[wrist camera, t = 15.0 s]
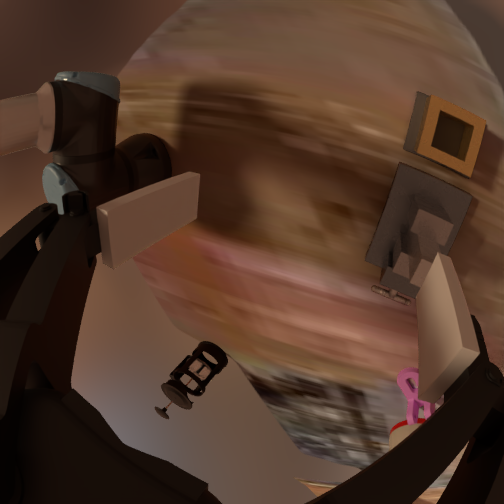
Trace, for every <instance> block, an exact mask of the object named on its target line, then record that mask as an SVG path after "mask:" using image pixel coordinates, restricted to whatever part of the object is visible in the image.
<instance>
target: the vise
mask: <svg viewBox="0 0 504 504" xmlns="http://www.w3.org/2000/svg"><path fill="white" fill-rule="evenodd" d="M472 197H473V196H472V195H471V194H469V193H468V192H466V191H464V190H462V189H460V188H458V187H456V186H454V185H452V184H450V183H448V182H445V181H443V180H441V179H439V178H437V177H435V176H432V175H430V174H428V173H426V172H423V171H421V170H419V169H416V168H414V167H412V166H409V165H407V164H404V163H402V162H399V164H398V167H397V171H396V174H395V177H394V180H393V183H392V186H391V189H390V192H389V195H388V198H387V201H386V204H385V207H384V209H383V212H382V215H381V218H380V220H379V223H378V226H377V228H376V231H375V234H374V236H373V239H372V241H371V244H370V246H369V249H368V251H367V254H366V257H365V261H367V262H369V263H372V264H374V265H376V266H379V267H381V268H382V269H381V277H380V284H381V285H384V286H386V287H388V288H390V290H389V291H388V290H385V289H383V288H380V287H378V286H376V285H373V286H372V287H371V290H372V291H373V292H375V293H378V294H380V295H382V296H385V297H387V298H390V299H392V300H394V301H397V302H399V303H402V304H404V305H406V306H409V305H410V304H411V301H410V300H409V299H407V298H404V297H402V296H400V295H397V293H398V292H400V293H403V294H405V295H407V296H410V297H412V298H414V299H416V295H417V294H418V292H419V290H420V288H421V286H422V284H423V282H424V280H425V278H426V276H427V274H428V272H429V270H430V268H431V266H432V264H433V262H434V260H435V257H436V255H437V253H438V252H439V253H441V254H443V255H446V256H447V255H448V253H449V251H450V249H451V246H452V244H453V242H454V240H455V238H456V236H457V233H458V231H459V229H460V227H461V224H462V222H463V219H464V217H465V215H466V212H467V210H468V207H469V205H470V202H471V199H472Z"/></svg>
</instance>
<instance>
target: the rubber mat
mask: <svg viewBox="0 0 504 504" xmlns="http://www.w3.org/2000/svg"><path fill="white" fill-rule="evenodd" d="M428 97H429V96H428V95H426V94H423V93H421V92H417V96H416V100H415V104H414V109H413V113H412V117H411V121H410V125H409V129H408V133H407V136H406V140H405V144H404V147H403V149H404V150H407V151H409V152H412V153H414V154H417V155H419V156H421V157H424V158H426V159H428V160H431V161H433V162H435V163H437V164H439V165H442V166H444V167H446V168H448V169H450V170H452V171H454V172H456V173H458V174H460V175H462V176H464V177H466V178H468V179H469V178H470V177H469V176H467V175H465V174H463V173H461V172H459V171H457V170H455V169H452V168H450V167H448V166H446V165H444V164H442V163H440V162H438V161H435V160H433V159H431V158H429V157H426V156H424V155H422V154H419V153H417V152H416V151H415V150H414V147H415V143H416V139H417V136H418V132H419V128H420V124H421V120H422V116H423V112H424V108H425V103H426V99H427V98H428ZM464 127H465V126H464V125H462V124H460V123H458V122H455V121H453V120H451V119H449V118H447V117H445V116H442V115H440V114H439V117H438V121H437V125H436V129H435V133H434V136H433V140H432V144H431V146H432V147H434V148H436V149H438V150H441V151H443V152H445V153H447V154H449V155H451V156H453V157H457V153H458V150H459V146H460V143H461V139H462V135H463V131H464Z"/></svg>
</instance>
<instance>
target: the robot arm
mask: <svg viewBox="0 0 504 504" xmlns="http://www.w3.org/2000/svg"><path fill="white" fill-rule="evenodd" d="M119 93H120V81H119V80H118V78H116V77H115V76H112V75H108V74H102V73H93V72H60V73H58V74H57V76H56V77H55V81H54V82H46V83H45V84H44V85H43V86H42V87H41V88H40V89H39V90H38V91H37V92H36V93H34V94H28V95H22V96H18V97H13V98H8V99H4V100H0V156H2V155H5V154H9V153H12V152H16V151H19V150H23V149H27V148H31V147H37V148H39V149H40V150H41V151H43V152H44V153H49V152H53V163H49V164H48V165H47V166H46V167H45V168H44V171H43V179H42V180H43V187H44V191H45V195H46V198H47V200H48V203H44V204H42V205H40V206H38V207H37V208H35V209H34V210H33V211H31V212H30V213H29V214H28V215H26V216H25V217H24V218H23V219H21V220H20V221H19V222H18V223H17V224H16V225H14V226H13V227H12V228H11V229H10V230H8V231H7V232H6V233H5V234H4V235H3V236H2V237H0V504H222V503H221V502H220V501H219V500H218V499H217V498H216V497H215V496H214V495H213V494H212V493H210V492H209V491H208V483H206V482H204V481H202V480H200V479H198V478H196V477H195V476H193V475H191V474H189V473H187V472H185V471H184V470H182V469H180V468H178V467H177V466H175V465H173V464H172V463H170V462H168V461H166V460H162V459H160V458H157V457H154V456H152V455H149V454H146V453H144V452H141V451H139V450H136V449H134V448H132V447H129V446H127V445H125V444H124V443H122V441H121V440H120V439H119V438H118V436H117V435H116V434H115V433H114V431H113V430H112V429H111V427H110V426H109V425H108V424H107V422H106V421H105V419H104V418H103V417H102V415H101V414H100V412H99V411H98V410H97V409H96V408H94V407H93V406H92V405H91V404H90V403H88V402H87V401H86V400H85V399H84V398H83V397H82V396H81V395H80V394H79V393H78V392H77V391H76V390H74V389H72V387H71V376H72V369H73V362H74V356H75V351H76V345H77V340H78V335H79V330H80V325H81V320H82V316H83V312H84V307H85V303H86V299H87V295H88V291H89V288H90V284H91V280H92V277H93V273H94V270H95V266H96V263H97V259H96V255H97V254H98V253H100V252H101V253H102V259H103V264H105V265H107V266H109V267H110V268H112V269H115V268H117V267H118V266H120V265H121V264H123V263H124V262H126V261H128V260H129V259H131V258H132V257H134V256H135V255H137V254H139V253H140V252H142V251H143V250H145V249H147V248H148V247H150V246H151V245H153V244H155V243H156V242H158V241H160V240H161V239H163V238H165V237H166V236H168V235H170V234H171V233H173V232H175V231H176V230H178V229H180V228H181V227H183V226H185V225H186V224H188V223H190V222H191V221H193V220H195V219H197V209H198V196H199V184H200V174H198V173H194V172H190V171H189V172H186V173H183V174H180V175H177V176H174V177H171V163H170V158H169V155H168V152H167V150H166V148H165V146H164V145H163V143H162V142H161V141H160V140H159V139H158V138H157V137H155V136H154V135H151V134H148V133H142V134H136V135H133V136H130V137H129V138H127V139H125V140H124V141H122V142H121V143H119V144H118V145H116V146H115V143H116V128H117V117H118V107H119V103H120V99H119ZM37 237H39V242H40V245H41V249H40V250H39V251H38V250H37V247H36V243H35V240H36V238H37ZM416 308H417V322H418V348H419V377H418V400H422V401H426V402H429V403H433V404H434V403H435V402H436V401H437V400H438V399H439V398H440V397H441V396H442V395H443V394H444V404H442V405H441V406H440V407H439V408H438V409H437V410H436V411H435V412H434V413H433V414H432V415H431V416H429V417H428V418H427V420H426V421H425V422H423V423H422V424H421V425H420V426H419V427H418V428H417V429H416V430H414V431H413V432H412V433H411V434H410V435H409V436H407V437H406V438H405V439H404V440H403V441H401V442H400V443H399V444H398V445H396V446H395V447H394V448H393V449H391V450H390V451H389V452H387V453H386V454H385V455H383V456H382V457H381V458H379V459H378V460H376V461H375V462H374V463H372V464H371V465H369V466H368V467H367V468H365V469H364V470H362V471H361V472H359V473H358V474H356V475H355V476H353V477H352V478H350V479H348V480H347V481H345V482H343V483H342V484H340V485H338V486H337V487H335V488H333V489H331V490H330V491H328V492H326V493H324V494H322V495H321V496H319V497H317V498H315V499H313V500H311V501H309V502H307V503H305V504H411V503H413V502H414V501H415V500H416V499H417V498H418V497H419V496H420V495H421V494H422V493H423V492H424V491H425V490H426V489H427V488H428V487H429V486H430V485H431V484H432V483H433V482H434V481H435V480H436V479H437V478H438V477H439V476H440V475H441V474H442V473H443V471H444V470H445V469H446V468H447V467H448V466H449V465H450V463H451V462H452V461H453V460H454V459H455V458H456V456H457V455H458V454H459V453H460V452H461V450H462V449H463V448H464V446H465V445H466V444H467V443H468V441H469V443H468V445H467V447H466V449H465V452H464V454H463V456H462V458H461V460H460V462H459V464H458V466H457V468H456V470H455V472H454V474H453V476H452V478H451V480H450V481H449V483H448V485H447V487H446V489H445V490H444V492H443V494H442V495H441V497H440V499H439V500H438V502H437V504H504V377H503V374H502V372H501V371H500V370H499V368H498V367H497V366H496V365H494V364H493V363H491V362H489V357H488V353H487V349H486V345H485V342H484V337H483V335H482V330H481V327H480V324H479V323H478V321H477V319H476V318H475V316H474V315H471V314H470V312H469V309H468V306H467V302H466V299H465V296H464V293H463V290H462V287H461V284H460V282H459V279H458V276H457V273H456V271H455V268H454V265H453V263H452V260H451V258H450V257H448V256H446V255H443V254H441V253H439V252H438V253H437V255H436V257H435V260H434V262H433V264H432V266H431V268H430V270H429V272H428V274H427V276H426V278H425V280H424V282H423V284H422V286H421V288H420V290H419V292H418V294H417V295H416Z"/></svg>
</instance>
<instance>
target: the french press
mask: <svg viewBox="0 0 504 504" xmlns="http://www.w3.org/2000/svg"><path fill="white" fill-rule="evenodd" d="M203 351H205V352H207V353H209V354H210V355H211V356H213V357H214V358H215V359H216V360H217V362H218V364H214V363H212V362H210V361H209V360H207V359H206V358H205V357H204V355H203V353H202V352H203ZM227 363H228V359H227V356H226V354H225V353H224V352H223V350H222V349H221V348H219V347H218V346H217V345H215V344H213V343H211V342H208V341H203V342H200V343H199V345H198V347H197V348H196V349H195V350H194V351H193V353H192V356H190V355H188V356H187V357H186V358H185V359H184V360H183V361H182V362H181V363H180V364H179V365H178V366H177V367H176V368H175V369H174V370H173V371H172V372H171V374H170V377H171V379H172V380H171V379H170V380H168V382H166V383H163V384H162V385H161V388H162V391H163V392H164V394H165V395H166V396H167V397H168V398H169V399H170V400H171V402H170V403H169V405H168V406H167V407H166V408H165V407H164V408H163V409H160V408H158V407H155V410H156V412H157V413H158V414H159V415H160V416H162V417H163V418H166V419H169V416H168V415H167V414H166V413H165V412H166V411H167V408H168V407H169V406H170V404H171V403H172V402H173V403H175V404H176V405H178V406H179V407H181V408H184V409H191V408H192V404H193V402H191V401H190V400H189V398H188V396H187V392H188V393H189V394H191V395H194V396H201V395H202V394H203V393H204V392H205V387H206V386H207V384H208V383H209V382H210V381H212V380H213V379H214V376H215V374H219V373H220V372H221V370H222V369H223V368H224V367H226V365H227ZM188 369H190V371H189V370H188ZM184 374H187V375H189V376H190V377H191V379H190V381H189V382H188V383H187V384H186V385H184V384H183V383H182V382H181V380H180V378H181V377H182V376H183V375H184ZM192 379H193V380H195V381H196V382H197V383H198V386H197V388H196V389H195V390H194V391H193V390H191V389H190V388H188V387H187V385H188V384H189V383H190V382H191V380H192ZM201 379H202V381H201ZM201 390H202V392H200V391H201Z"/></svg>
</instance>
